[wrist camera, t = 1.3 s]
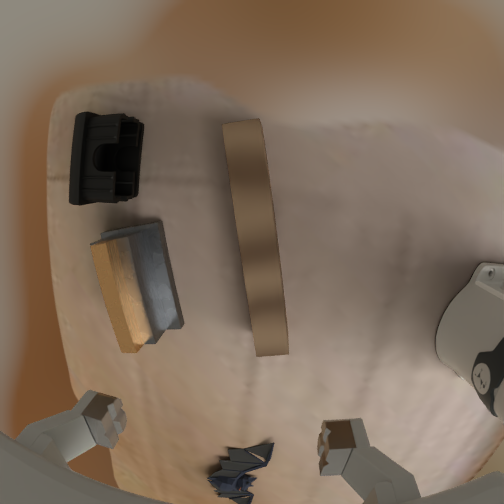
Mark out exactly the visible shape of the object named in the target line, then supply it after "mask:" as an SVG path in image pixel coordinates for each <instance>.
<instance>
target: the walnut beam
mask: <svg viewBox="0 0 504 504" xmlns="http://www.w3.org/2000/svg"><path fill="white" fill-rule="evenodd" d="M222 130H223V137H224V144H225V151H226V158H227V165H228V172H229V179H230V186H231V193H232V200H233V207H234V214H235V221H236V227H237V234H238V241H239V247H240V254H241V261H242V267H243V274H244V280H245V287H246V293H247V300H248V306H249V312H250V319H251V325H252V331H253V338H254V344H255V350H256V356H257V357H262V356H275V355H286V354H289V343H288V327H287V317H286V308H285V298H284V289H283V281H282V272H281V263H280V255H279V247H278V239H277V231H276V223H275V215H274V207H273V200H272V192H271V185H270V177H269V170H268V163H267V156H266V149H265V142H264V135H263V129H262V125H261V122H260V119H259V118H258V119H251V120H244V121H238V122H232V123H226V124H222Z"/></svg>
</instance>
